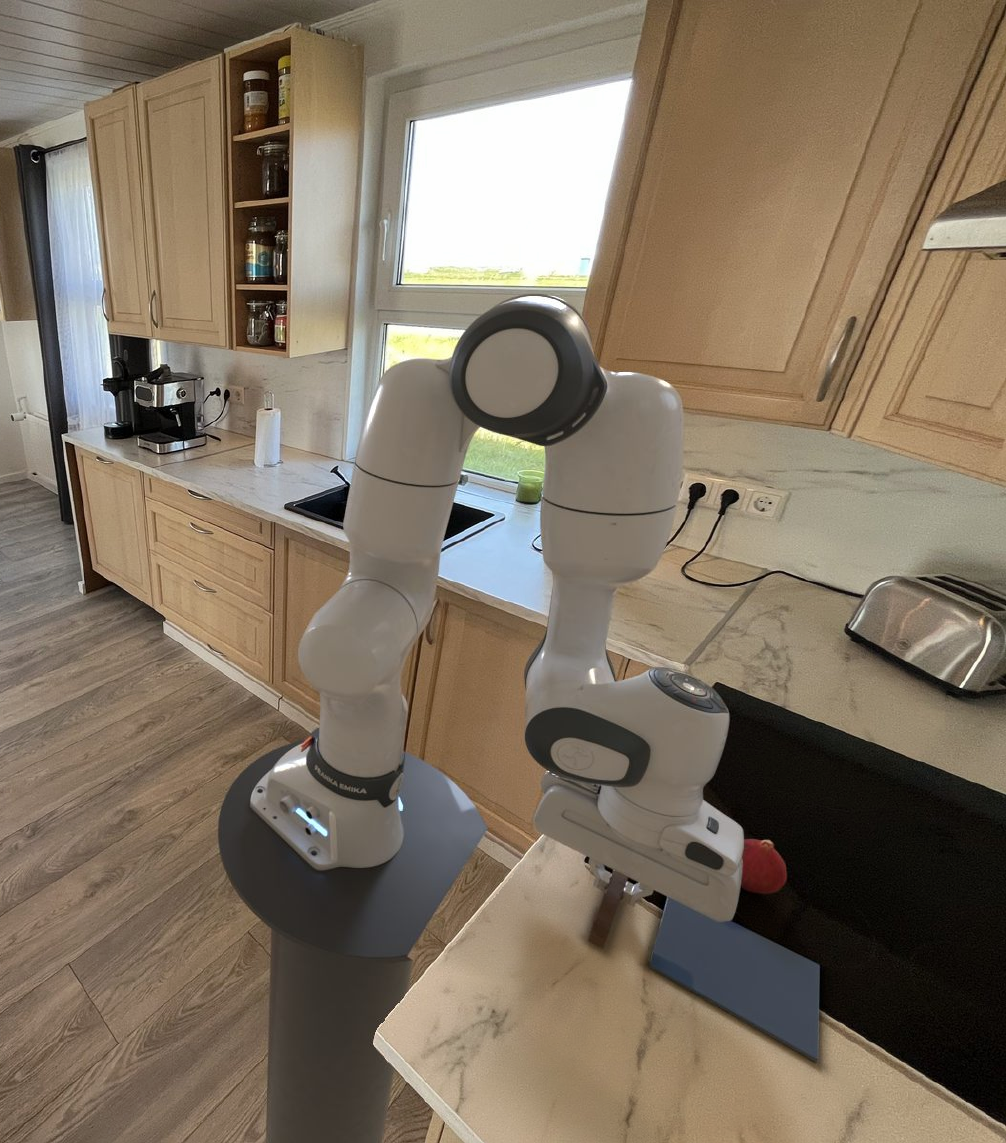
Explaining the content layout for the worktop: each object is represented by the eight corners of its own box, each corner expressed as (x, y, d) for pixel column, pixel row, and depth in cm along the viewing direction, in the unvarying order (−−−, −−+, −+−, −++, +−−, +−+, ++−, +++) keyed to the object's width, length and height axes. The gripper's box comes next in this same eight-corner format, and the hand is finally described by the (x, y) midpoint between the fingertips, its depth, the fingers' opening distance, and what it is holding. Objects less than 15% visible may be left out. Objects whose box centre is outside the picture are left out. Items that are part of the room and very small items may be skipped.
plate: (648, 967, 67) (649, 964, 67) (668, 893, 75) (669, 890, 75) (816, 1062, 59) (818, 1059, 59) (818, 967, 67) (819, 964, 67)
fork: (613, 955, 68) (620, 935, 67) (578, 935, 71) (584, 915, 69) (652, 834, 84) (659, 816, 82) (622, 821, 86) (628, 803, 84)
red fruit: (715, 892, 75) (737, 845, 72) (715, 860, 80) (736, 814, 76) (776, 918, 72) (801, 869, 69) (772, 882, 77) (796, 835, 73)
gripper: (537, 776, 72) (516, 861, 78) (757, 875, 60) (712, 967, 65) (554, 749, 76) (532, 831, 82) (762, 836, 64) (719, 925, 70)
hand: (614, 892), depth 74 cm, fingers closed on fork
